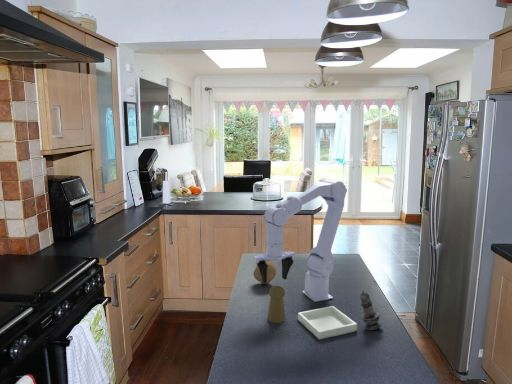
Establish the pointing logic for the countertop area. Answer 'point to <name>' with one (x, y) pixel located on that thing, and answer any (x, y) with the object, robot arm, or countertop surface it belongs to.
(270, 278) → the natural sponge
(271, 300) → the cork
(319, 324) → the tray
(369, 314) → the gray chess piece
